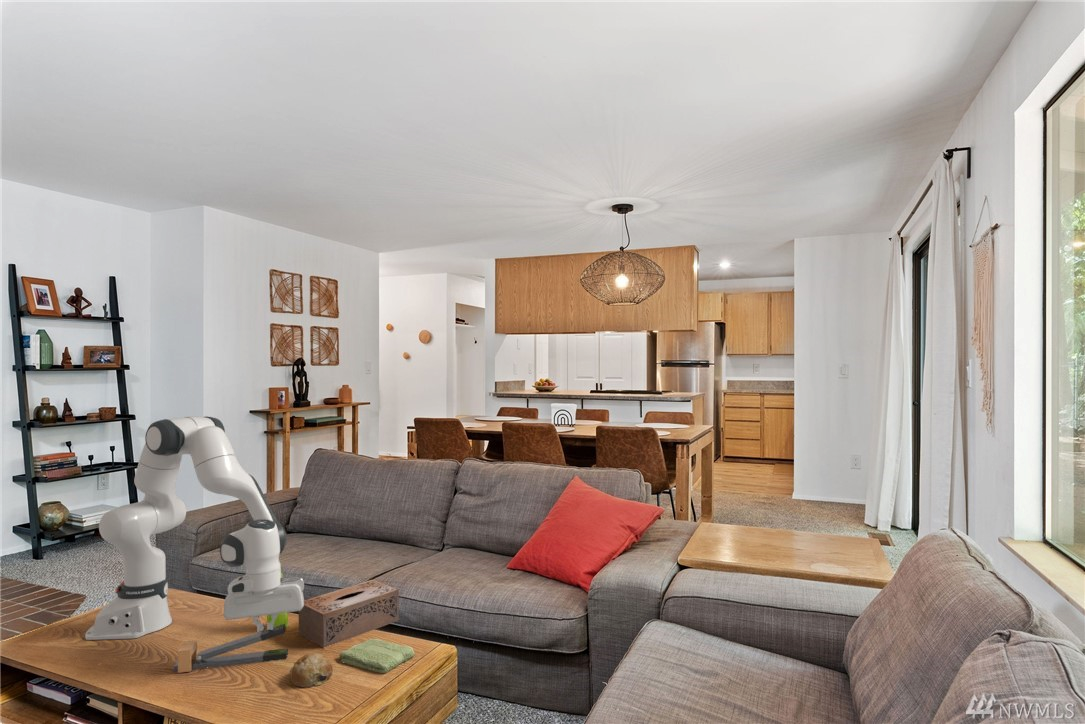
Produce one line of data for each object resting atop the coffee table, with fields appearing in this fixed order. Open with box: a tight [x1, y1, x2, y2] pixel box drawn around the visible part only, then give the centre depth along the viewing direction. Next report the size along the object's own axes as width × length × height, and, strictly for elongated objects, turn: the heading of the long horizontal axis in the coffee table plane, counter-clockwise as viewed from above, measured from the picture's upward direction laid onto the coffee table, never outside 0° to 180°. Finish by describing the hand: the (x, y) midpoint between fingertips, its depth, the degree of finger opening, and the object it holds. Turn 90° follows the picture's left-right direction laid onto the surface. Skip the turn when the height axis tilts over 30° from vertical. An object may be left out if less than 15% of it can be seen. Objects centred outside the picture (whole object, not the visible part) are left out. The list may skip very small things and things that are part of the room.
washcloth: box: [339, 638, 415, 674], centre depth 175 cm, size 13×18×3 cm
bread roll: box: [289, 652, 334, 688], centre depth 164 cm, size 10×10×8 cm
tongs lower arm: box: [173, 647, 289, 673], centre depth 173 cm, size 28×3×2 cm, turn 104°
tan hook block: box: [177, 640, 198, 674], centre depth 171 cm, size 3×6×6 cm, turn 14°
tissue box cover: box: [298, 579, 400, 648], centre depth 196 cm, size 26×14×10 cm, turn 138°
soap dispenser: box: [266, 562, 289, 629], centre depth 197 cm, size 6×7×20 cm
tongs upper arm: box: [195, 624, 287, 662], centre depth 174 cm, size 23×3×2 cm, turn 104°
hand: (265, 630), depth 175 cm, fingers closed
